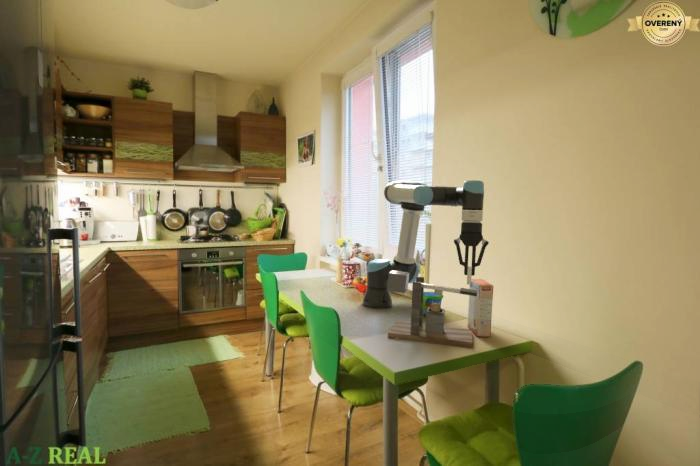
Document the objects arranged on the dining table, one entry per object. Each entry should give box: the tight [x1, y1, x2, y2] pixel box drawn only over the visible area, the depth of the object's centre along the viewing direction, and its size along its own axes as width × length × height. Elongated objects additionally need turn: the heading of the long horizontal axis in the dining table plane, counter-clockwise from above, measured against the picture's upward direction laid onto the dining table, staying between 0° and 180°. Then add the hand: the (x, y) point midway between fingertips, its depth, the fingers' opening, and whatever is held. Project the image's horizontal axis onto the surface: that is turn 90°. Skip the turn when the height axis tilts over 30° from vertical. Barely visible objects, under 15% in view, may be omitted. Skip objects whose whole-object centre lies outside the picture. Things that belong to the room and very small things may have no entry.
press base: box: [387, 276, 473, 349], centre depth 152 cm, size 16×31×22 cm, turn 74°
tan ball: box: [430, 303, 442, 312], centre depth 152 cm, size 4×4×4 cm
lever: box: [387, 270, 477, 296], centre depth 152 cm, size 9×34×7 cm, turn 74°
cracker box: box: [467, 278, 494, 338], centre depth 159 cm, size 14×6×21 cm, turn 177°
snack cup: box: [423, 291, 444, 316], centre depth 184 cm, size 16×10×10 cm
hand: (468, 283), depth 148 cm, fingers closed
